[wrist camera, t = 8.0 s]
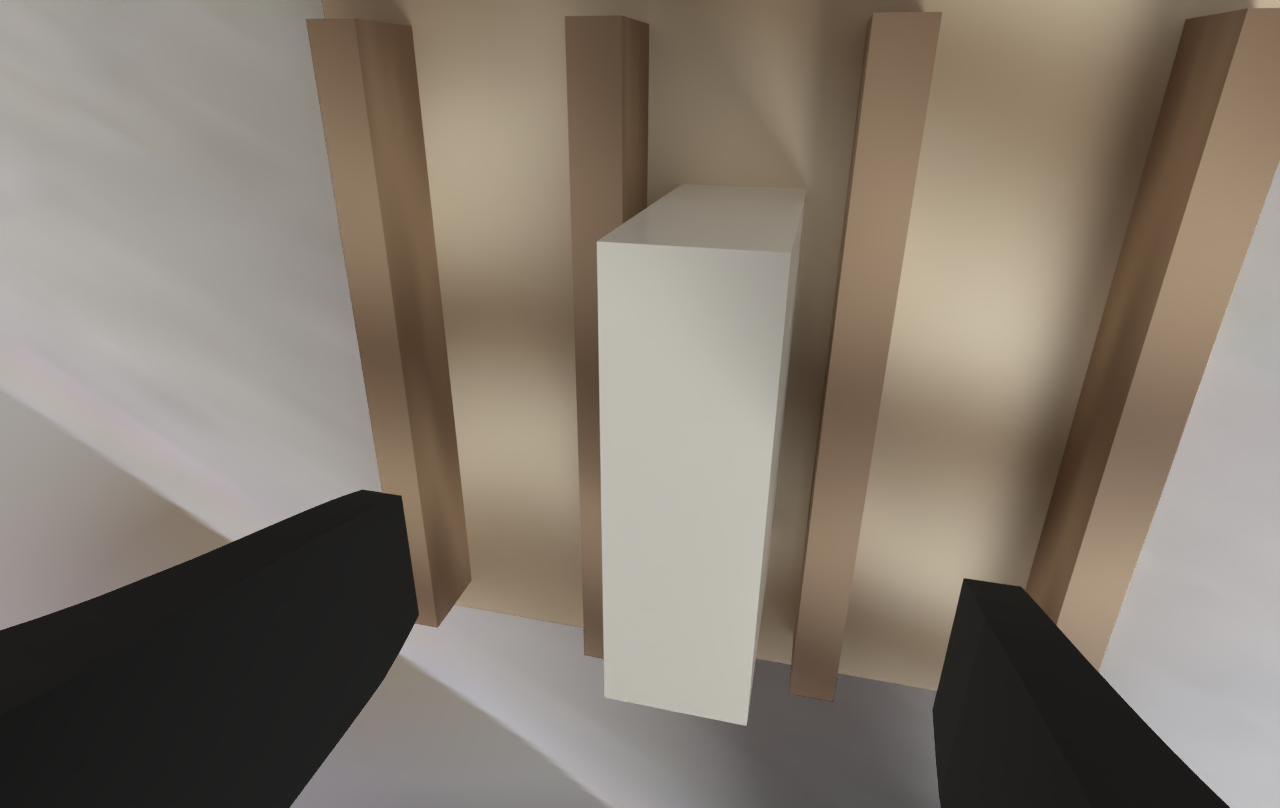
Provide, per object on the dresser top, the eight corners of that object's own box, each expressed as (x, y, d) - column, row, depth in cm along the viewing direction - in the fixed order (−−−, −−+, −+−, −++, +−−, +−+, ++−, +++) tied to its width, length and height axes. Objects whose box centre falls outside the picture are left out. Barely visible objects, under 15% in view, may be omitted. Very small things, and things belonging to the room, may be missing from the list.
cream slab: (773, 530, 17) (746, 726, 12) (672, 516, 18) (604, 697, 13) (806, 188, 14) (790, 253, 9) (682, 183, 15) (596, 241, 9)
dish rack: (1075, 698, 18) (1110, 789, 16) (422, 584, 22) (374, 644, 20) (1331, -51, 11) (1456, -84, 9) (335, -25, 15) (248, -44, 13)
